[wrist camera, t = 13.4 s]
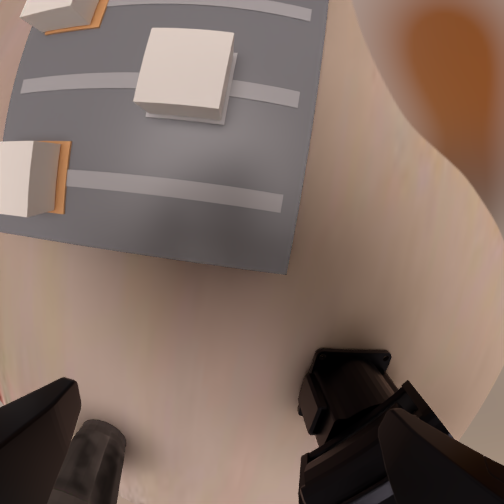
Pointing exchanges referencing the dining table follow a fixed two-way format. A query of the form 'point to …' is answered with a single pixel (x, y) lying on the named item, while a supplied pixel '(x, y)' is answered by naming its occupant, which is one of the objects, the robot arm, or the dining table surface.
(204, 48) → the slider middle
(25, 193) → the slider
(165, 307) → the dining table surface
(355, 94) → the dining table surface
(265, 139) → the switch panel
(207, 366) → the dining table surface
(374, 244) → the dining table surface
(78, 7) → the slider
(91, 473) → the beverage cup
